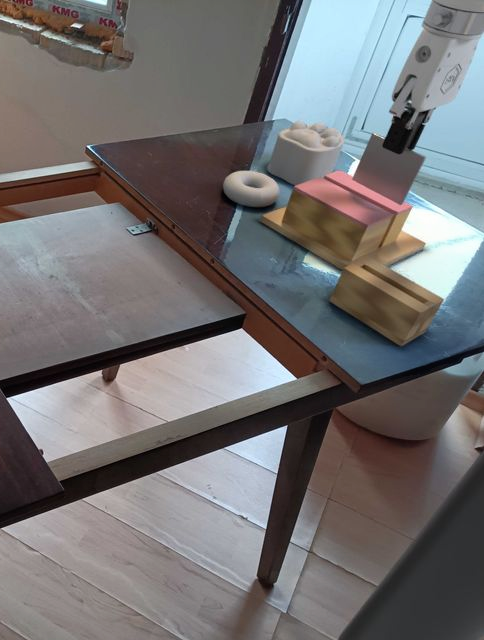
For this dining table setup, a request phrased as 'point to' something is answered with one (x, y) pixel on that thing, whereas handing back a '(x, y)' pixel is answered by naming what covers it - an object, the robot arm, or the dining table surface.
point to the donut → (251, 188)
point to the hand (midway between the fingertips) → (397, 147)
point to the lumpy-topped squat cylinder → (305, 152)
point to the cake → (339, 225)
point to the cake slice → (376, 199)
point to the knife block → (385, 300)
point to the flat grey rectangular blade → (389, 167)
